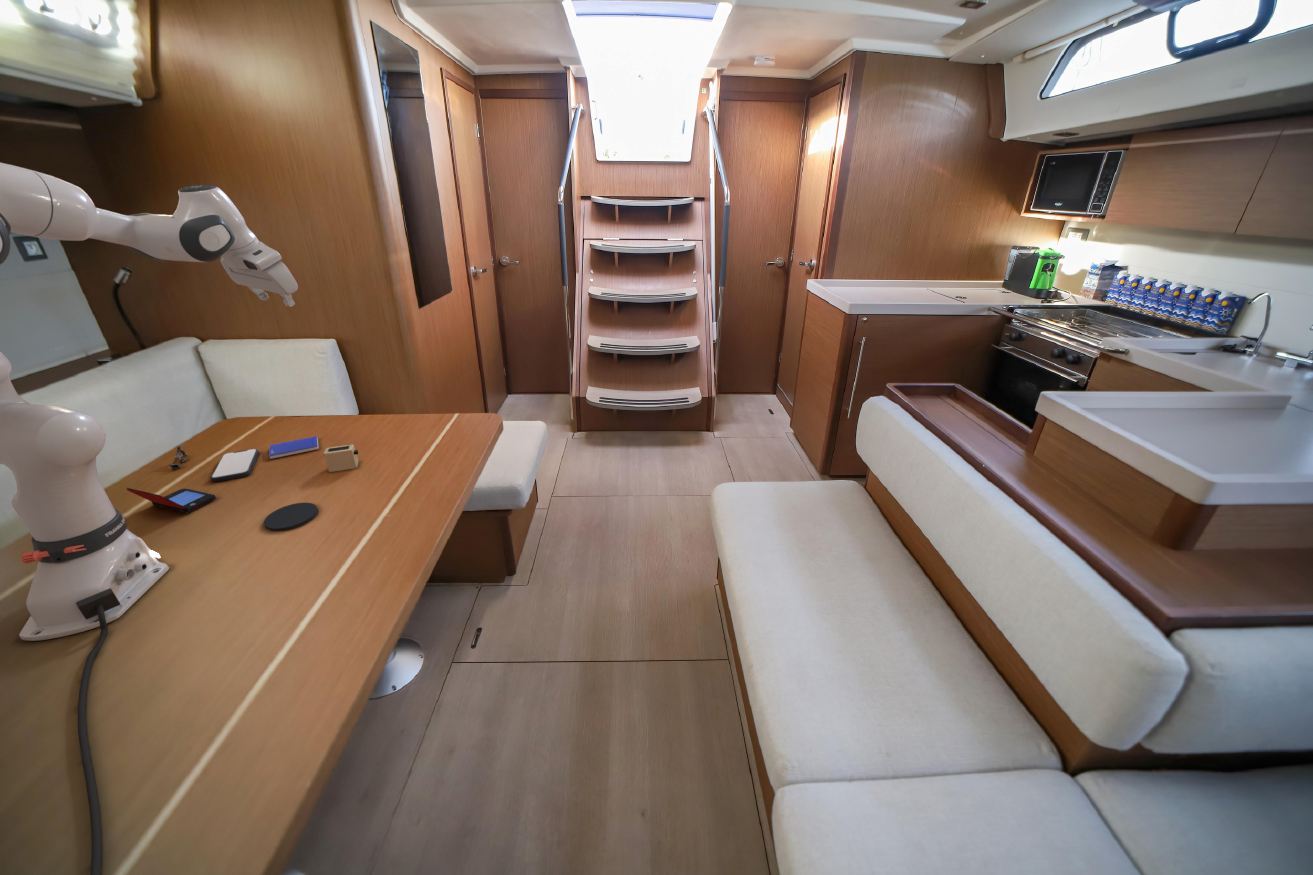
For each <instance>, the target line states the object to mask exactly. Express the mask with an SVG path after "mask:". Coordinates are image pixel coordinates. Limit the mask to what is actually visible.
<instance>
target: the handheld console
mask: <svg viewBox="0 0 1313 875" xmlns="http://www.w3.org/2000/svg"><path fill="white" fill-rule="evenodd" d="M126 490H127V491H128V492H130V493H132V494H134V495H136V496H137V497H141V498H143V499H144V500H147V501H150V502H151V504H152V506H154V507H159V508H164V509H168V510H169V509H170V510H171V509H172V510H173V511H177V512H180V513H184V514H189V513H191V512H192V511H194V510H197V509H198V508H200V507H203V506H204V505H207V504H210V503H211V502H213V501H214V500H215V499H216V498H217V496H216V495H215V494H212V493H207V492H203V491H198V490H195V489H190V488H179V489H178V490H176V491H173V492H172V493H169V494H167V495H164V496H163V495H160V494H156V493H152V492H148V491H143V490H138V489H134V488H130V487H127V488H126ZM216 500H217V499H216Z"/></svg>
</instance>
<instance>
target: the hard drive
mask: <svg viewBox="0 0 1313 875" xmlns="http://www.w3.org/2000/svg"><path fill="white" fill-rule="evenodd" d="M316 450H319V439H318V436H317V435H316V436H310V437H305V438H300V439H296V440H290V441H289V440H288V441H284V442H279V443H273V444H270V445H269V449H268V458H269V459H270V460H272V459H278V458H282V457H283V458H284V457H288V456H292V455H297V454H302V453H306V452H311V451H316Z"/></svg>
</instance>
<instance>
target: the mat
mask: <svg viewBox="0 0 1313 875" xmlns="http://www.w3.org/2000/svg"><path fill="white" fill-rule="evenodd" d="M318 514H319V508H318V506H317V504H315V503H312V502H296V503H292V504H288V505H285V506H282V507H279V508H277V509H276V510H273V511H272V512H271V513H269V514H268V515H267V516H266V517H265V518H264V520H263V525H264V527H265V529H267V530H269V531H272V532H283V531H289V530H293V529H296V528H300V527H302V526H304V525H306V524H308V523H309V522H311V521H312V520H314V519H315V518H316V517H317V515H318Z"/></svg>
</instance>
